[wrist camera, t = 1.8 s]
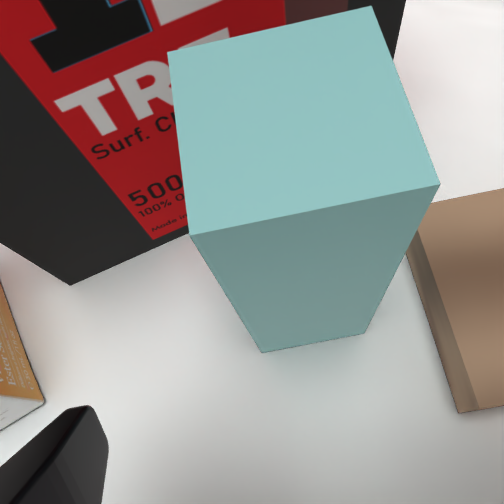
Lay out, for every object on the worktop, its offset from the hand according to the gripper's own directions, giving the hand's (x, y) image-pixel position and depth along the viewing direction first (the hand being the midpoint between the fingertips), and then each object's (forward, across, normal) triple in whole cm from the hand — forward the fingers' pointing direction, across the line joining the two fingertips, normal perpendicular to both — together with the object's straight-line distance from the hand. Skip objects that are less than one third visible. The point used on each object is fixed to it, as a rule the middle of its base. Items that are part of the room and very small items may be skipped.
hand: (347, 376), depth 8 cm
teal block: (+12, 0, +5) cm, 13 cm away
